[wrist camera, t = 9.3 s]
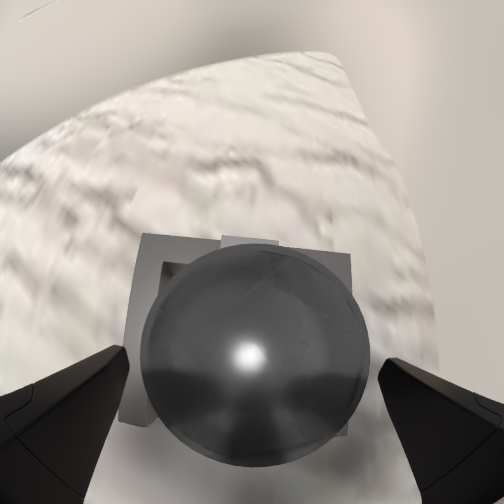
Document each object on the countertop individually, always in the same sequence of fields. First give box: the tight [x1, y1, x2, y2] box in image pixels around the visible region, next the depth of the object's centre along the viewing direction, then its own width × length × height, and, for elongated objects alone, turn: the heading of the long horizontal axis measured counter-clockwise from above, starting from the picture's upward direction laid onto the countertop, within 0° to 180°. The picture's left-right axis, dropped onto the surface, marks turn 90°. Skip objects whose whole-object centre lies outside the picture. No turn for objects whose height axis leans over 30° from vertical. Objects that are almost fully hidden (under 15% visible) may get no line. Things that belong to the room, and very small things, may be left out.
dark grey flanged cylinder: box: [140, 243, 370, 467], centre depth 11 cm, size 6×6×11 cm
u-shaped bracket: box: [118, 233, 352, 437], centre depth 15 cm, size 11×13×4 cm
